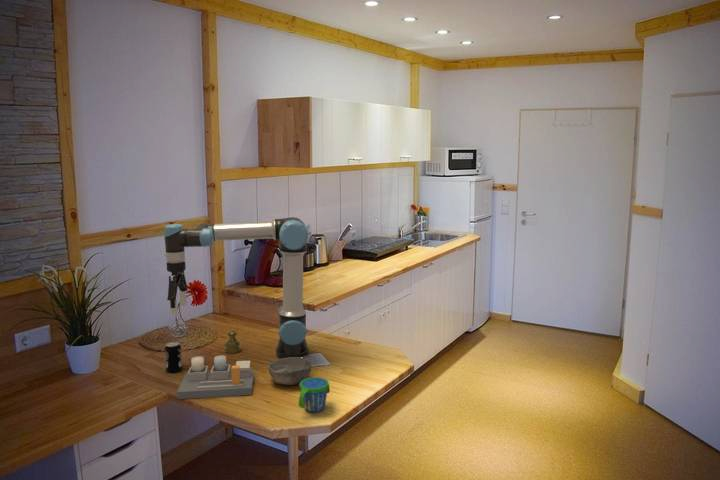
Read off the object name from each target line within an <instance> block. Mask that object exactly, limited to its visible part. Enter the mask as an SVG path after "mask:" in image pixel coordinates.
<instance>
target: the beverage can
mask: <svg viewBox="0 0 720 480" xmlns="http://www.w3.org/2000/svg"><path fill="white" fill-rule="evenodd" d="M164 354H165V355H164V356H165V370H166V372H168V373H171V374H175V373H178V372H180V371H182V369H183V361H182V347H181V344H180V342H179V341H170V342H168V343H165V347H164Z"/></svg>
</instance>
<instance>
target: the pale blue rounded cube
mask: <svg viewBox="0 0 720 480" xmlns="http://www.w3.org/2000/svg"><path fill="white" fill-rule="evenodd" d="M213 363H214V365H213V366H214V367H215V371H224V370H226V369H227V365H228V363H227V356H226V355H223V354H222V355H217V356H214V357H213Z"/></svg>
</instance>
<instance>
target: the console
mask: <svg viewBox="0 0 720 480" xmlns="http://www.w3.org/2000/svg"><path fill="white" fill-rule="evenodd" d="M240 379H241V383H240V384H238V385H232V371H231V364H227V369H226V370H224V371H215V367H214V365H212V368H211V370H210V372H209V365H204V371H202V372H192V366H189V369H188V372H187V373H184V376H183V379H182V380H181V382H180V385H179V387H178V389H177V392H176V397H177V398H176V399H177V400H189V399H206V398H209V399H211V398H222V397H223V398H227V397H241V396H240V395H246V396H252V393H253V388H254V383H253V382H255V370H254V369H252V367H250V371H240ZM226 396H227V397H226Z"/></svg>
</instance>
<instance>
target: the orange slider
mask: <svg viewBox="0 0 720 480" xmlns="http://www.w3.org/2000/svg"><path fill="white" fill-rule="evenodd" d="M230 369H231V371H232V385H238V384H240V383H241V379H240V365H237V366H236V365H232V366H231V367H230Z"/></svg>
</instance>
